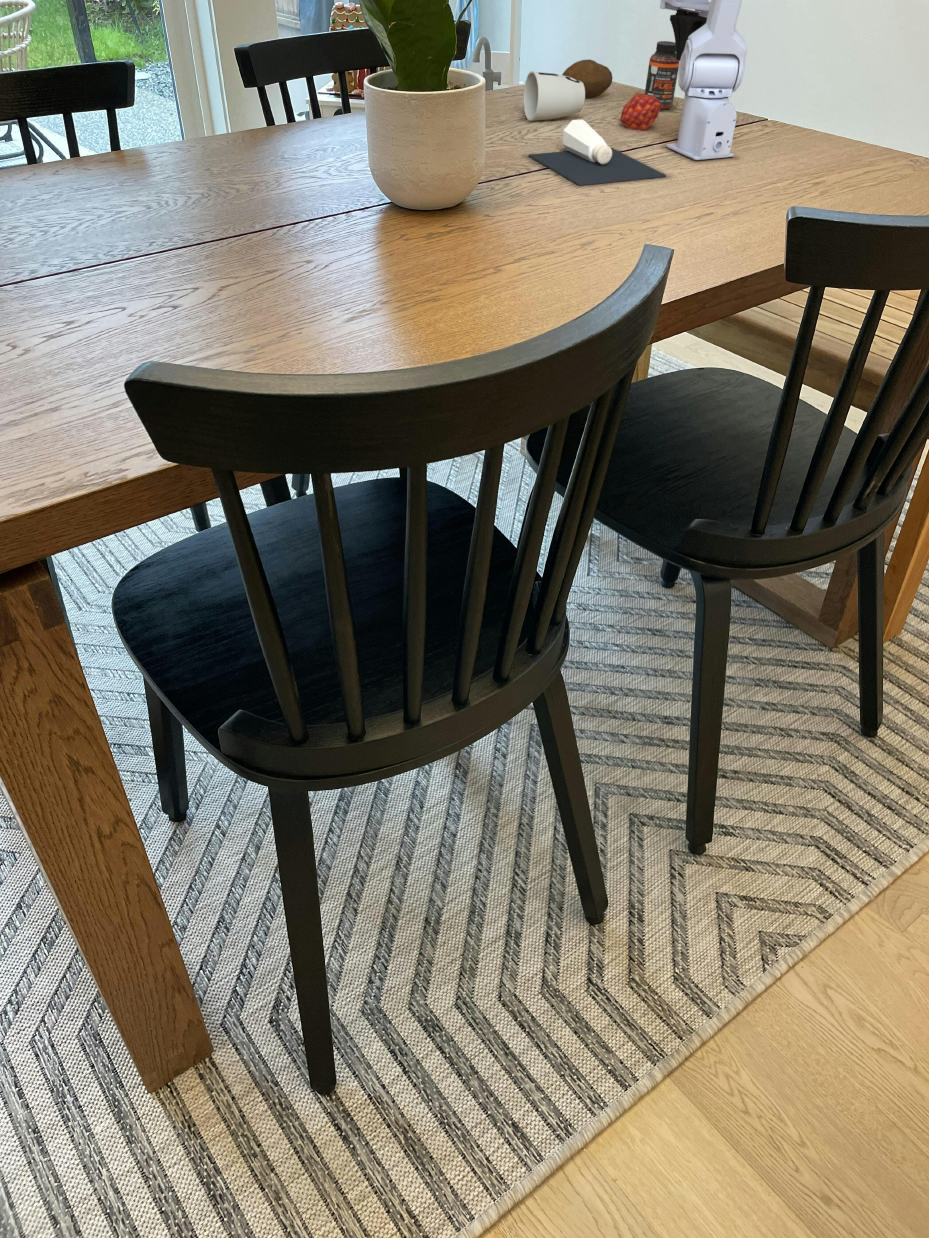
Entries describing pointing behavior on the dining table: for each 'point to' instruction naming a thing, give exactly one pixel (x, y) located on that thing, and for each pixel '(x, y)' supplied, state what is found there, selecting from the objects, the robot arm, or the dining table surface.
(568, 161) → the mat
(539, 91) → the cup
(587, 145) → the salt shaker
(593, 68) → the potato
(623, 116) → the decorative stone
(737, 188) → the dining table surface
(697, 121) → the robot arm
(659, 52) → the supplement bottle
